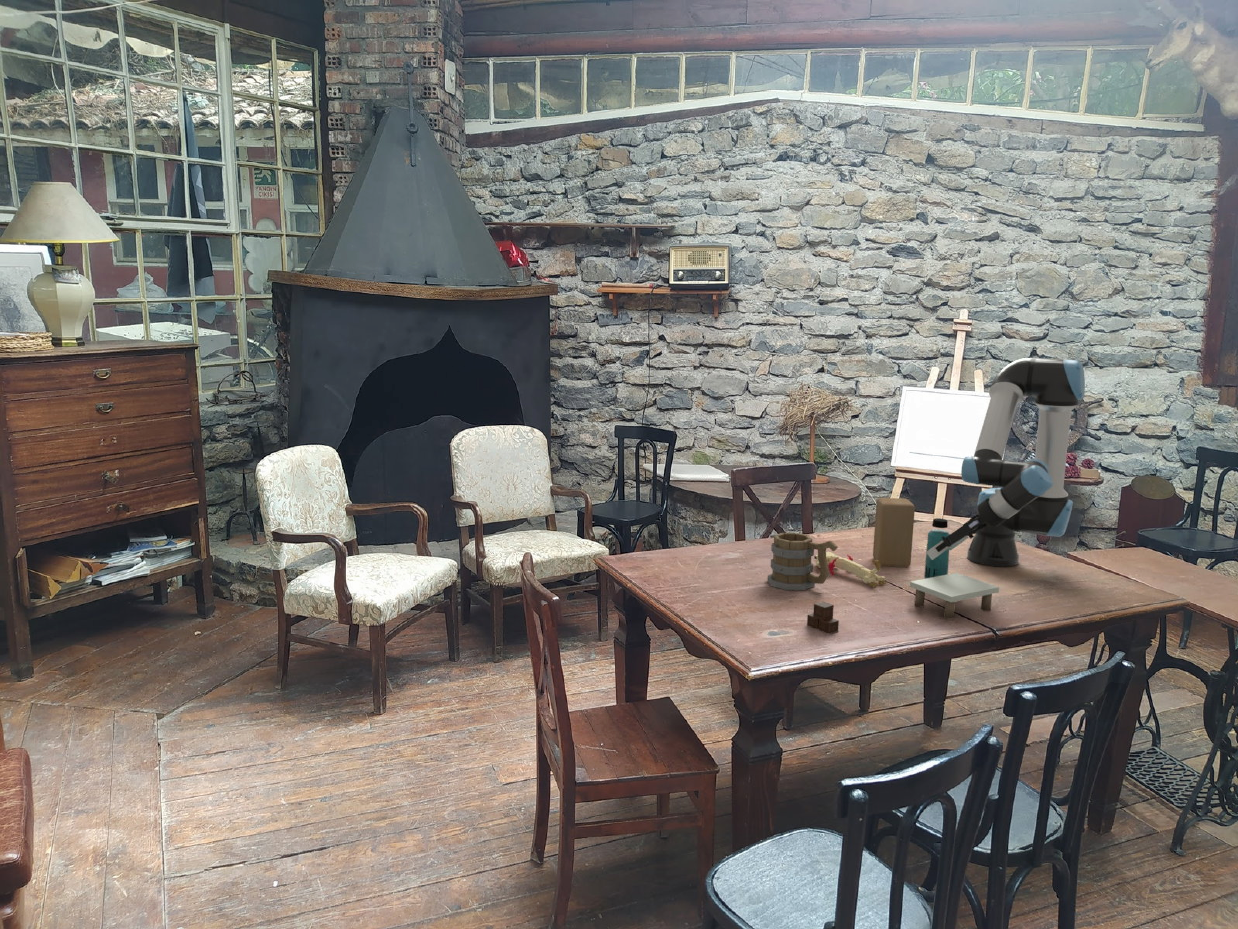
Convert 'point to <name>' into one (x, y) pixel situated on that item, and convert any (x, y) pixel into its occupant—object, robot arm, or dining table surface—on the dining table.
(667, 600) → the dining table surface
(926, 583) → the peg shelf
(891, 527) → the wooden block
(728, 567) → the dining table surface
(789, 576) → the tankard
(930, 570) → the beverage bottle
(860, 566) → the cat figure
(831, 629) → the stack of crates
